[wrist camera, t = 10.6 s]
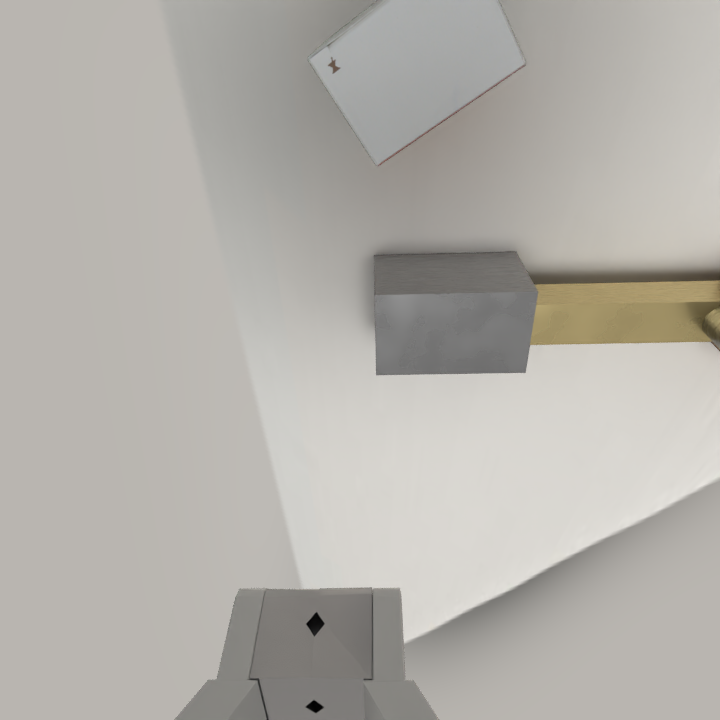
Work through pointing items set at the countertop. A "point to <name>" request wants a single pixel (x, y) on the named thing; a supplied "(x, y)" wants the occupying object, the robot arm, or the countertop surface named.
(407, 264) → the sleeve
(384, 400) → the countertop surface
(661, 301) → the yellow bar with knob
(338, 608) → the robot arm
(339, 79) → the small box
